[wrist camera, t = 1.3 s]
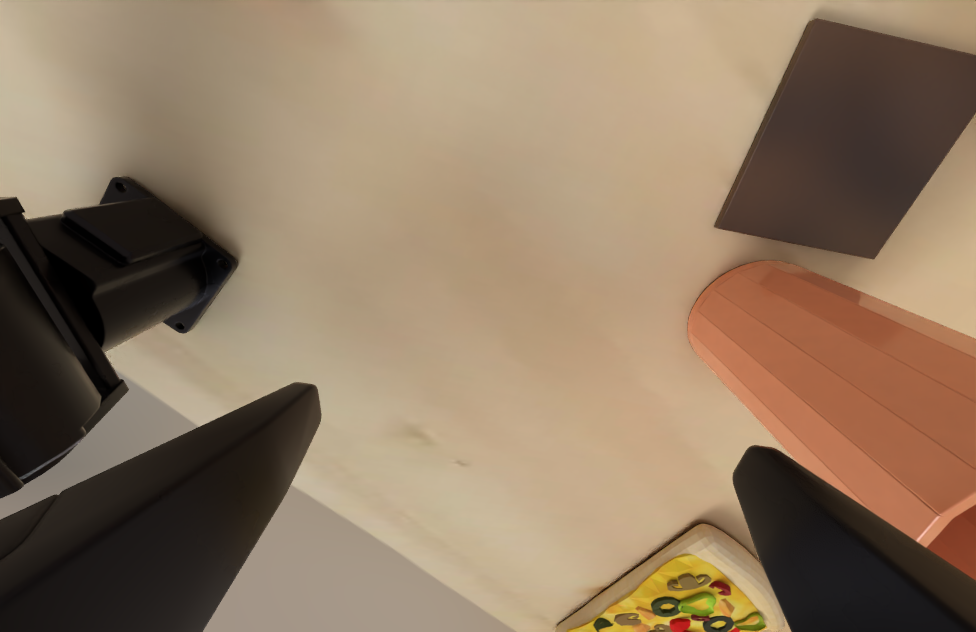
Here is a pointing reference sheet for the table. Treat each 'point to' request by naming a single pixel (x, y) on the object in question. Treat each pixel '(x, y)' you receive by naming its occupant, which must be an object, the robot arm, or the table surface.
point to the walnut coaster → (850, 139)
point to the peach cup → (853, 394)
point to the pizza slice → (687, 592)
